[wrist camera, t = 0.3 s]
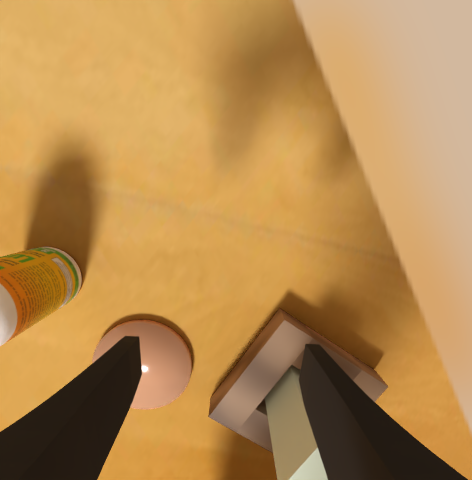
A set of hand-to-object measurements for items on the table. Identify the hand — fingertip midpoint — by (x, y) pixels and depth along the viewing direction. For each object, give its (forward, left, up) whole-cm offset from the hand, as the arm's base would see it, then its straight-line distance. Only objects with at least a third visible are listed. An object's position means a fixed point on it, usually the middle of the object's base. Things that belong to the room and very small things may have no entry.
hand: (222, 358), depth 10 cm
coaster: (-12, +2, -11) cm, 16 cm away
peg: (-6, -11, -11) cm, 16 cm away
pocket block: (-6, -11, -11) cm, 16 cm away
